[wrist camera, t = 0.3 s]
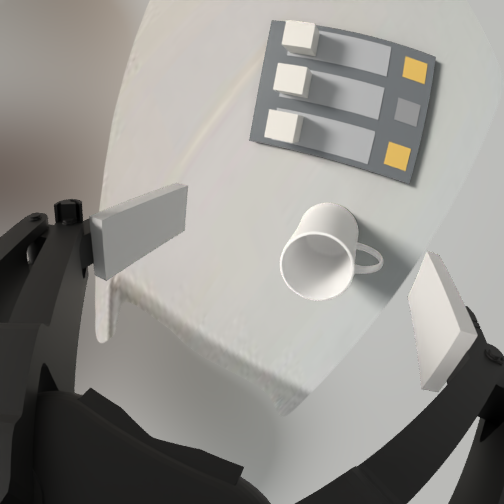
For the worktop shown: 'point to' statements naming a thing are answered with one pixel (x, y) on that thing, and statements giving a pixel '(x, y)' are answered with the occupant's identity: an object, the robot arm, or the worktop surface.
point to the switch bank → (352, 100)
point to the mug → (324, 253)
